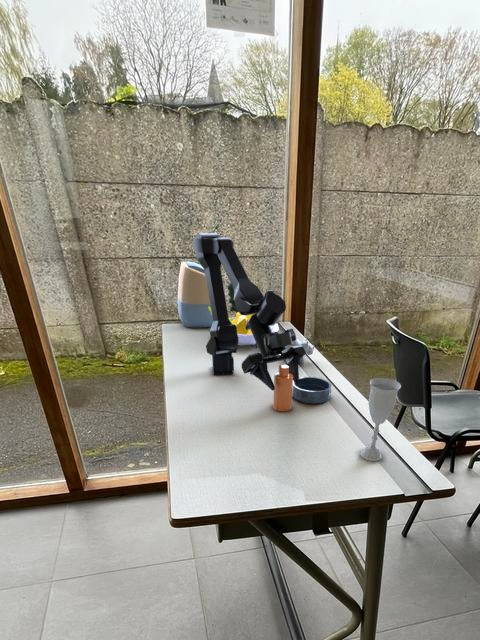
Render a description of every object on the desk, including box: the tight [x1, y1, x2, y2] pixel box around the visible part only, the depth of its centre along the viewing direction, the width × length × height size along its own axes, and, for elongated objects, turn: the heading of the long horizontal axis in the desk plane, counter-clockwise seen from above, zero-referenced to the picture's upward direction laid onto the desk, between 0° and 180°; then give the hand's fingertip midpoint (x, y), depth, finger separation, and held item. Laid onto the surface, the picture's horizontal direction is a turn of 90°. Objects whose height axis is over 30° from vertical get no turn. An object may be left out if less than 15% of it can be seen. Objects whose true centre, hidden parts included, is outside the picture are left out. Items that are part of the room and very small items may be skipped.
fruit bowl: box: [207, 306, 280, 347], centre depth 172 cm, size 28×27×11 cm
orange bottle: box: [272, 364, 293, 412], centre depth 122 cm, size 5×5×12 cm
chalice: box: [360, 377, 402, 462], centre depth 100 cm, size 7×7×18 cm
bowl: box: [292, 376, 332, 405], centre depth 132 cm, size 12×12×4 cm
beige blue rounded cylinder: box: [177, 261, 213, 328], centre depth 184 cm, size 17×17×23 cm
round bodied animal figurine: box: [282, 337, 315, 363], centre depth 156 cm, size 7×12×8 cm, turn 98°
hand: (286, 387), depth 120 cm, fingers open, 8 cm apart
